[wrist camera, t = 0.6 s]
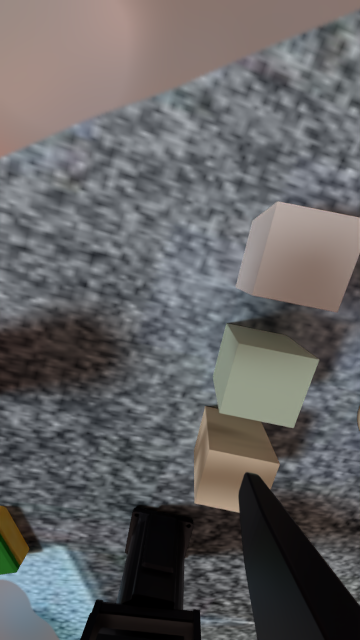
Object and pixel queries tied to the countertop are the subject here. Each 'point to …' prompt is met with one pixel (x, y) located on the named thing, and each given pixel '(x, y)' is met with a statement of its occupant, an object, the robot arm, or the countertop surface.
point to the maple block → (229, 458)
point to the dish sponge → (10, 544)
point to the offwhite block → (300, 256)
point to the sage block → (262, 375)
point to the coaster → (358, 418)
